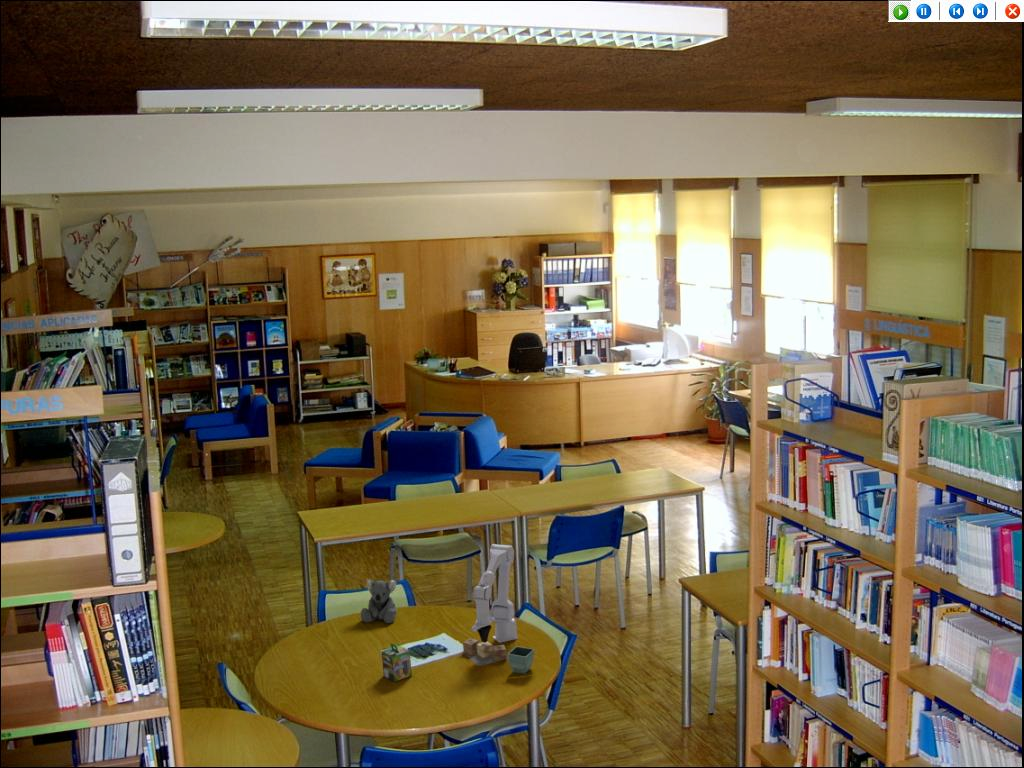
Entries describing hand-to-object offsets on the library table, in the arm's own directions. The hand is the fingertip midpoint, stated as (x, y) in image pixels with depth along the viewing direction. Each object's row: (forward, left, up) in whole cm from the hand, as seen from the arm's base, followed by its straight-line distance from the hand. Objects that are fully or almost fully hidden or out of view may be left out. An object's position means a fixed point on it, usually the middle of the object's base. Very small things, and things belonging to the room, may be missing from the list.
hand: (484, 641), depth 481 cm
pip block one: (-4, +7, -6) cm, 10 cm away
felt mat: (0, 0, -7) cm, 7 cm away
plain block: (0, 0, -6) cm, 6 cm away
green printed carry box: (+41, 0, -7) cm, 41 cm away
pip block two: (+4, -6, -6) cm, 9 cm away
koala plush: (+25, -69, -7) cm, 74 cm away
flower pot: (-7, +23, -7) cm, 25 cm away
